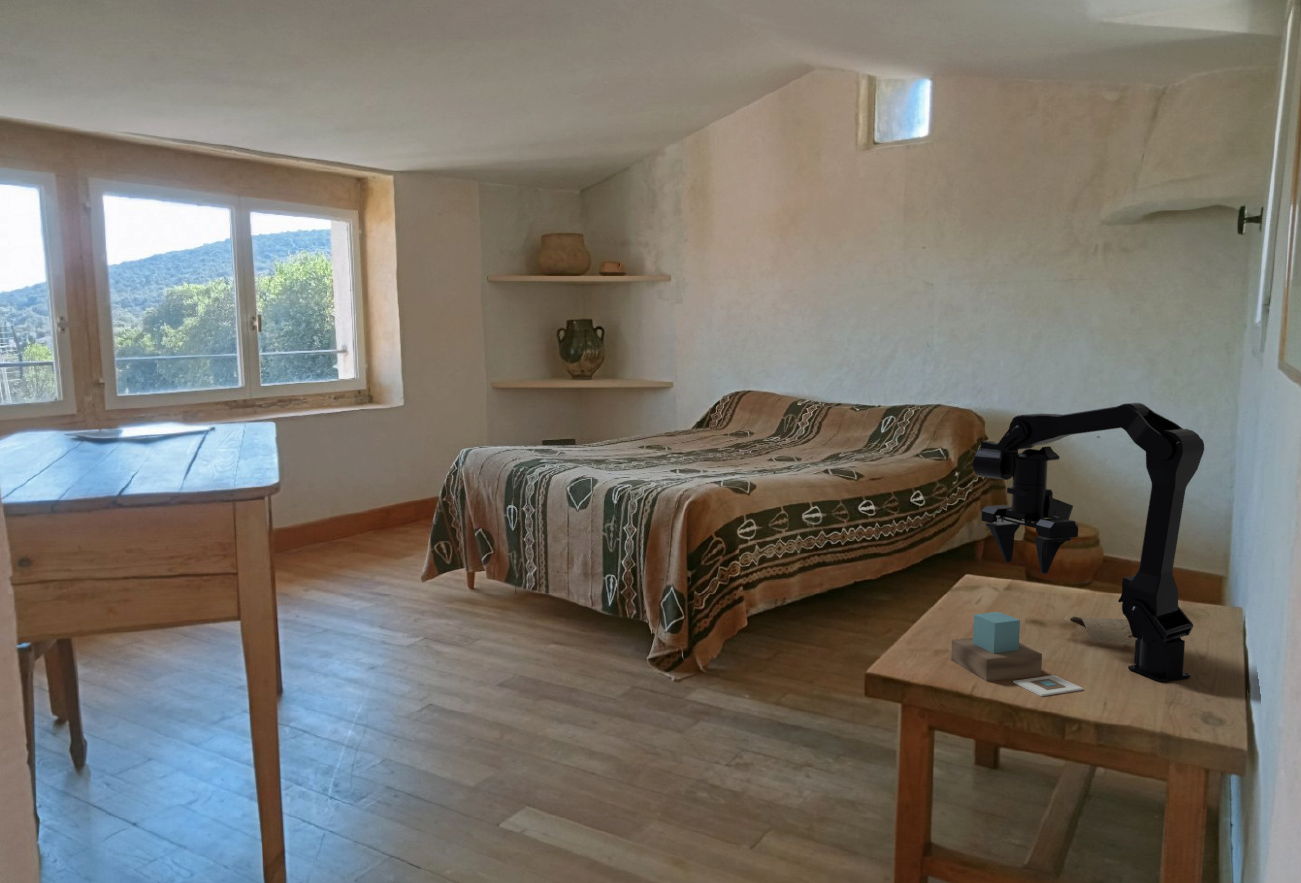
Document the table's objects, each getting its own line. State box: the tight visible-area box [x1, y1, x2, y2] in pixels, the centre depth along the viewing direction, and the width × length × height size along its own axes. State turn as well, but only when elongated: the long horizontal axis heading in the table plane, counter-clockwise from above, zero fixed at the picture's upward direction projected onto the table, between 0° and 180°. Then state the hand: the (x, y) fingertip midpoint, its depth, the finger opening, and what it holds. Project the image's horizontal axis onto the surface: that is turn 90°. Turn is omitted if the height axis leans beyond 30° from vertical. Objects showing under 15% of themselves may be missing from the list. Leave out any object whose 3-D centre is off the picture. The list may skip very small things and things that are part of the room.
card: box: [1013, 674, 1084, 697], centre depth 142 cm, size 6×8×1 cm
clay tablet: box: [1069, 616, 1137, 644], centre depth 170 cm, size 14×10×3 cm
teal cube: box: [972, 611, 1021, 653], centre depth 150 cm, size 5×5×5 cm
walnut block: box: [950, 637, 1043, 682], centre depth 151 cm, size 10×10×4 cm
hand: (1025, 567), depth 167 cm, fingers open, 9 cm apart
